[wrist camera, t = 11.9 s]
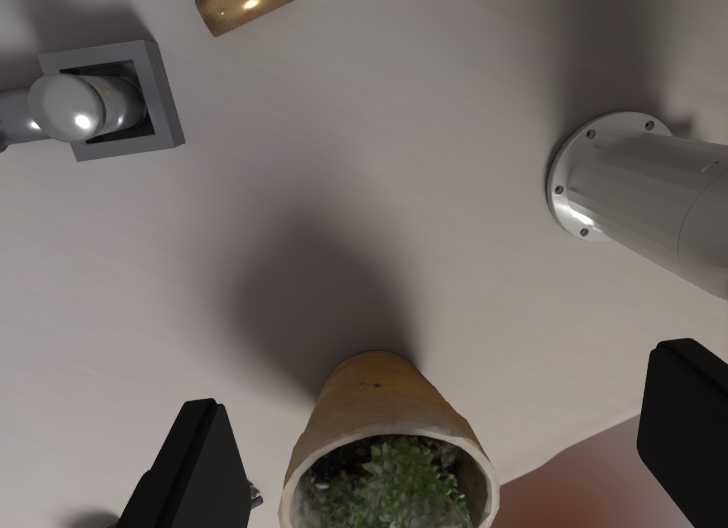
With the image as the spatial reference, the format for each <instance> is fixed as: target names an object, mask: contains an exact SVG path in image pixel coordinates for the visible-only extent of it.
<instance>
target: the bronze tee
mask: <svg viewBox="0 0 728 528" xmlns="http://www.w3.org/2000/svg"><path fill="white" fill-rule="evenodd" d="M292 1H294V0H195V3H196V5H197V8H198V10H199V12H200V14H201V16H202V18H203V20H204V22H205V24H206V25H207V27H208V29H209V30H210V32H211V33H212V34H213V36H214V37H218V36H220V35H222V34H224V33H226V32H229V31H231V30H233V29H235V28H237V27H239V26H241V25H243V24H246V23H248V22H250V21H252V20H254V19H256V18H258V17H260V16H262V15H265V14H267V13H269V12H271V11H273V10H275V9H277V8H279V7H281V6H284V5H286V4H288V3H290V2H292Z"/></svg>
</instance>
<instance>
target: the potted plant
mask: <svg viewBox="0 0 728 528" xmlns="http://www.w3.org/2000/svg"><path fill="white" fill-rule="evenodd" d="M499 487H500V485H499V483H498V480H497V477H496V474H495V471H494V468H493V465H492V464H491V462H490V460H489V459H488V457H487V455H486V454H485V452H484V450H483V448H482V447H481V445H480V443H479V441H478V439H477V437H476V436H475V434H474V432H473V430H472V428H471V427H470V425H469V423H468V421H467V420H466V419H465V418H464V417H462V416H461V415H460V414H458V413H457V412H456V411H455V410H454V409H453V407H452V406H451V405H450V404H449V403H448V402H447V401H445V399H444V398H443V397H442V396H441V394H440V393H439V392H438V390H437V389H436V388H435V387H434V386H433V385H432V384H431V383H430V382H429V381H428V380H427V379H426V378H425V377H424V376H423V375H422V374H421V373H420V372H419V371H418V370H417V369H416V368H415V367H414V366H413V365H412V364H411V363H410V362H409V361H408V360H407V359H405V358H404V357H401V356H399V355H397V354H393V353H390V352H386V351H383V350H382V351H368V352H363V353H360V354H357V355H355V356H352V357H350V358H347V359H346V360H344V361H343V362H342V363H341V364H340V365H339V366H337V367H336V368H335V369H334V370H333V372H332V373H331V375H330V376H329V378H328V379H327V381H326V383H325V385H324V387H323V389H322V391H321V393H320V396H319V398H318V400H317V403H316V405H315V407H314V410H313V412H312V414H311V417H310V419H309V422H308V424H307V426H306V429H305V431H304V432H303V433H302V434H301V436H300V437H299V439H298V441H297V443H296V445H295V446H294V448H293V452H292V456H291V459H290V463H289V467H288V469H287V472H286V475H285V480H284V487H283V492H282V496H281V501H280V505H279V510H278V517H279V522H280V527H281V528H489V527H490V526H491V524H492V521H493V519H494V517H495V515H496V513H497V510H498V508H499V498H500V495H499Z"/></svg>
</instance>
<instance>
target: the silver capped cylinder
mask: <svg viewBox="0 0 728 528" xmlns="http://www.w3.org/2000/svg"><path fill="white" fill-rule="evenodd" d="M27 101H28V108H29V112H30V114H31V117H32V119H33V120H34V122H35V123H36V124H37V126H38V127H39V128H40V129H41V130H42V131H43V132H45V133H46V134H47V135H49V136H50V137H52V138H54V139H56V140H59V141H62V142H68V143H74V142H80V141H84V140H88V139H91V138H93V137H95V136H97V135H101V134H106V133H110V132H114V131H118V130H122V129H131V128H135V127H138V126H141V125H142V124H144V123H145V122H146V121H147V120H148V118H149V116H150V115H149V111H148V108H147V105H146V102H145V98H144V95H143V92H142V88H141V85H140V82H138V81H137V80H135V79H134V78H132V77H129V76H125V75H108V76H76V75H72V74H47V75H44V76H41V77H40V78H38V79H37V80H36V81H35V82H34V83H33V84H32V86H31V87H30V90H29V93H28V100H27Z"/></svg>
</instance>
